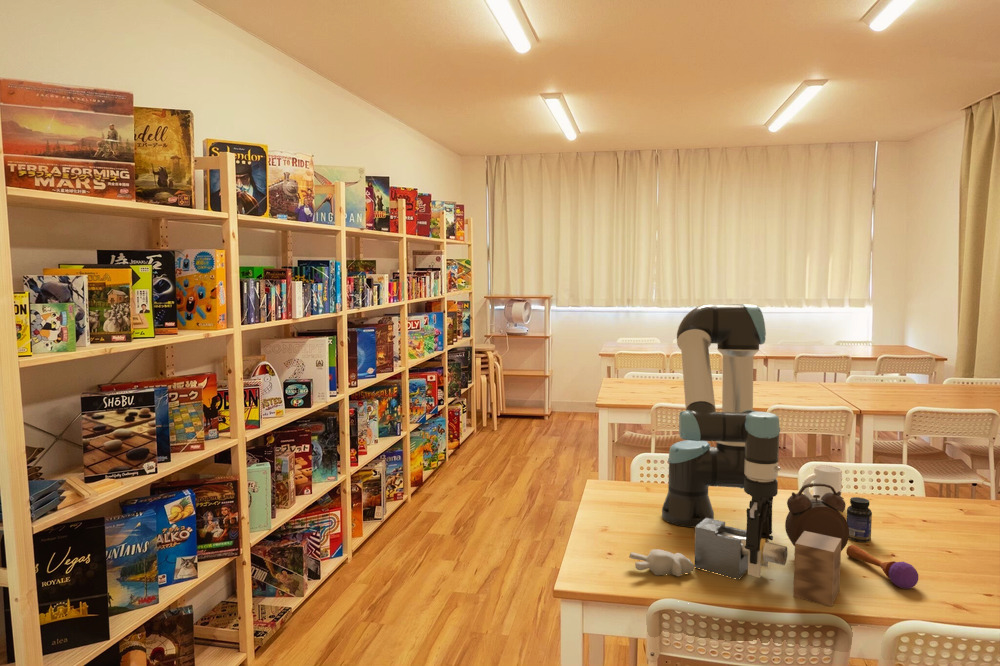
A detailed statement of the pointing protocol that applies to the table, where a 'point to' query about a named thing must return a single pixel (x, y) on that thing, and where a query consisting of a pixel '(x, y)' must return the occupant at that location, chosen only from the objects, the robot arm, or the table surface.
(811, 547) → the socket block
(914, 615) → the table surface
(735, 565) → the square shaft housing
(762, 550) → the tube
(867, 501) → the pill bottle
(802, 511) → the alarm clock
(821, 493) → the mug
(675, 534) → the table surface
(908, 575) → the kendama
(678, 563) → the bunny figurine
